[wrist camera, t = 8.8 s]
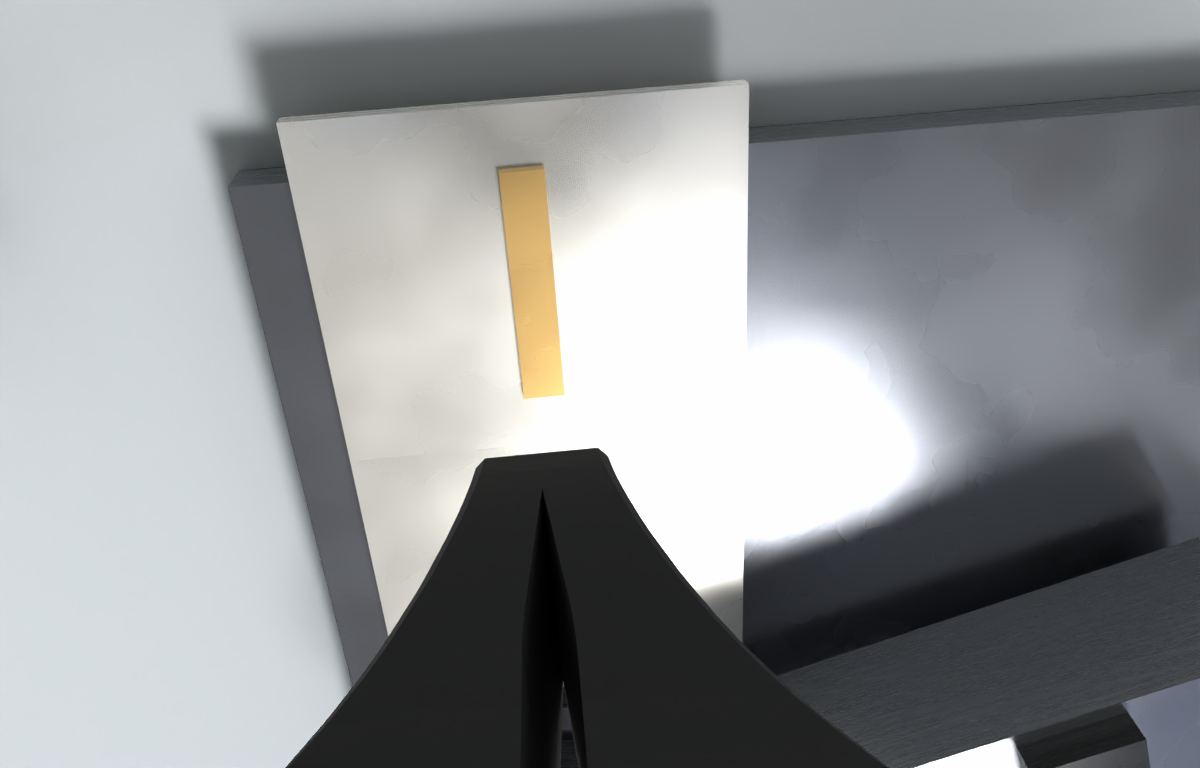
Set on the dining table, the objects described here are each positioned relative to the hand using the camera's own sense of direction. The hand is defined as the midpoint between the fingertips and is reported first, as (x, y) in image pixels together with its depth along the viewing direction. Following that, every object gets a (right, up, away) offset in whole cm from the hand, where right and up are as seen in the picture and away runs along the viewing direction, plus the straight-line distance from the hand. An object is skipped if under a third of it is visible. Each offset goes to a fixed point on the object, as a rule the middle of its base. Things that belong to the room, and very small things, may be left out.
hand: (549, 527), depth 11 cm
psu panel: (+5, -1, +9) cm, 11 cm away
